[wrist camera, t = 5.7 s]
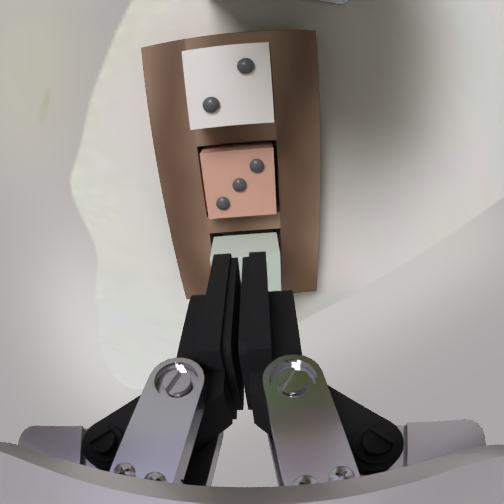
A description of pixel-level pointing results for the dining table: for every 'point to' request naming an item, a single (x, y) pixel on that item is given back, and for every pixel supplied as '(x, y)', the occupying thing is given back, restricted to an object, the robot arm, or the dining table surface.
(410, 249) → the dining table surface
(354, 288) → the dining table surface
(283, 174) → the tile board
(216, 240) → the pale grey square block
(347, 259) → the dining table surface
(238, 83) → the two-pip tile
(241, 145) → the pink three-dot die face
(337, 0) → the tea box
